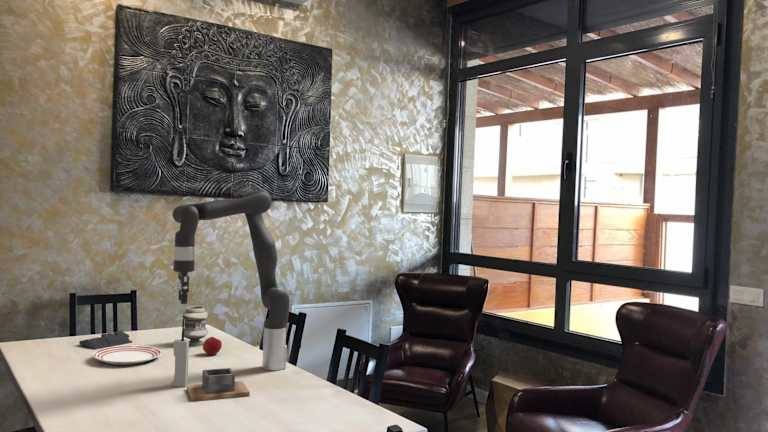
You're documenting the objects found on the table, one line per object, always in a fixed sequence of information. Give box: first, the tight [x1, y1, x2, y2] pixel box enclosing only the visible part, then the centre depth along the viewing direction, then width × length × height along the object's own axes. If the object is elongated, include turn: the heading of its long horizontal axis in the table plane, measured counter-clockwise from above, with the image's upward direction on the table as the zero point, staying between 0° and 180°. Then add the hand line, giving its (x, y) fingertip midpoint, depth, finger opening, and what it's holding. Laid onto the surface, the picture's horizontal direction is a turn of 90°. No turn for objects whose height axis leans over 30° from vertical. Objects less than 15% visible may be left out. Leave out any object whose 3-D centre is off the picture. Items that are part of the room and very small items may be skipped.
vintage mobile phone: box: [171, 318, 190, 388], centre depth 225 cm, size 4×5×25 cm
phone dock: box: [186, 367, 251, 402], centre depth 219 cm, size 20×14×8 cm
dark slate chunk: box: [79, 330, 133, 350], centre depth 285 cm, size 15×22×5 cm
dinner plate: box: [92, 344, 163, 366], centre depth 259 cm, size 27×27×3 cm
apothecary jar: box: [182, 305, 209, 347], centre depth 290 cm, size 12×12×18 cm
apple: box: [202, 336, 223, 356], centre depth 272 cm, size 8×8×8 cm
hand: (182, 302), depth 225 cm, fingers open, 8 cm apart
